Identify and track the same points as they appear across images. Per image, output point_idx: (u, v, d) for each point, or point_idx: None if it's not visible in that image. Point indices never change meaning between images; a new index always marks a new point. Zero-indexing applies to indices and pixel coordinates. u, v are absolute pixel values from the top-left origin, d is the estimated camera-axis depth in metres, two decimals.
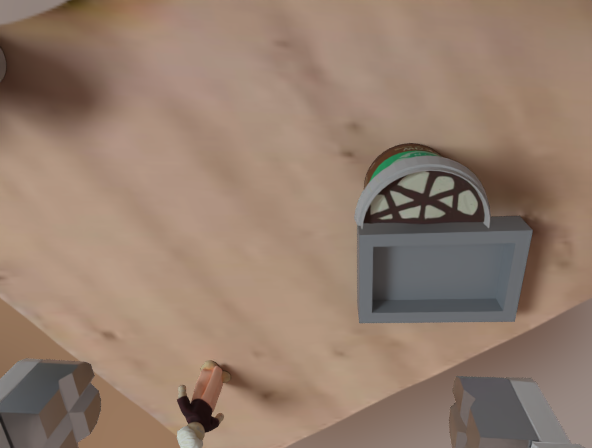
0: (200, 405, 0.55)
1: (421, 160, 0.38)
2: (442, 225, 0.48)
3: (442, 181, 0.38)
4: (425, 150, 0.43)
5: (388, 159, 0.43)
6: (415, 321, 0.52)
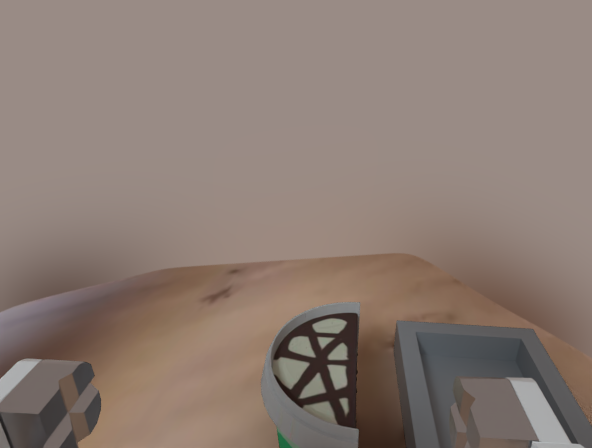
0: None
1: None
2: (405, 409, 0.33)
3: (296, 345, 0.29)
4: None
5: None
6: None
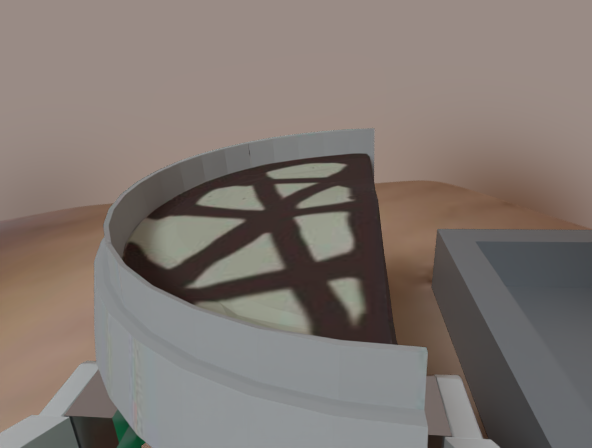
0: None
1: None
2: (484, 371, 0.15)
3: (218, 198, 0.11)
4: None
5: None
6: None
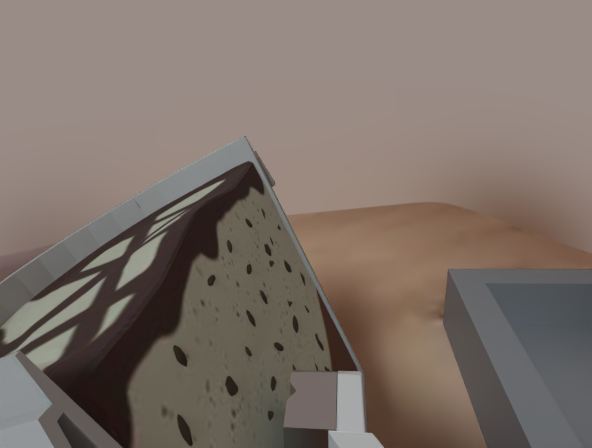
0: None
1: None
2: (497, 424, 0.16)
3: (101, 258, 0.12)
4: None
5: None
6: None
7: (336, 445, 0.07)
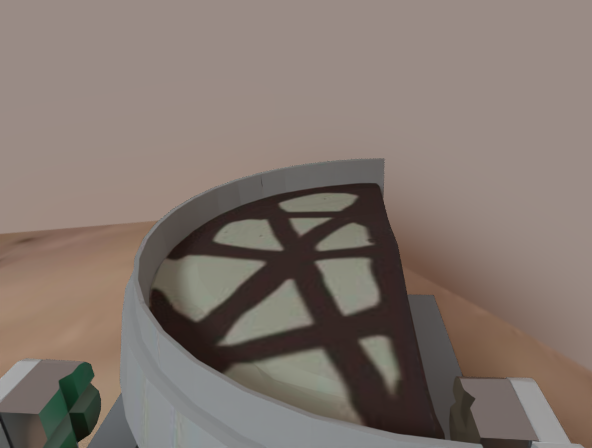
0: None
1: None
2: None
3: (234, 233, 0.11)
4: None
5: None
6: None
7: None
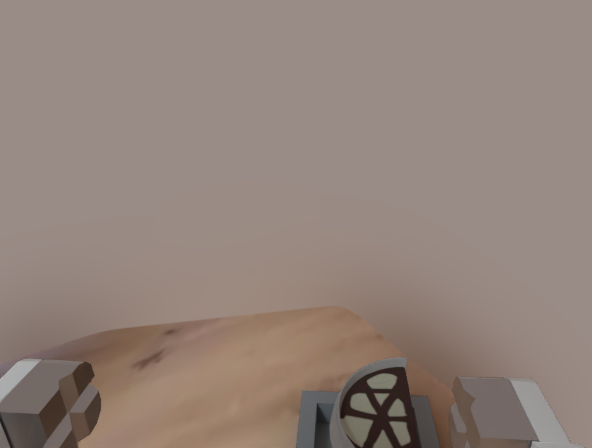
0: None
1: (332, 426, 0.31)
2: None
3: (356, 402, 0.33)
4: None
5: None
6: None
7: None
